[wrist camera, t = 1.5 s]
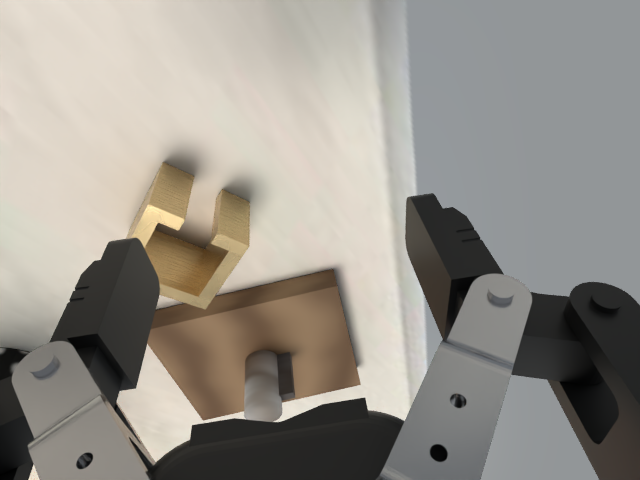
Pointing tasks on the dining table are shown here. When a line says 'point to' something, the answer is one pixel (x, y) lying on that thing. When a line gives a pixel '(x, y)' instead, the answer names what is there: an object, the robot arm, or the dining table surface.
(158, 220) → the slotted square frame
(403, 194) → the dining table surface
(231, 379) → the shaft stand
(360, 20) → the dining table surface
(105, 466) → the robot arm
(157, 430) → the dining table surface
